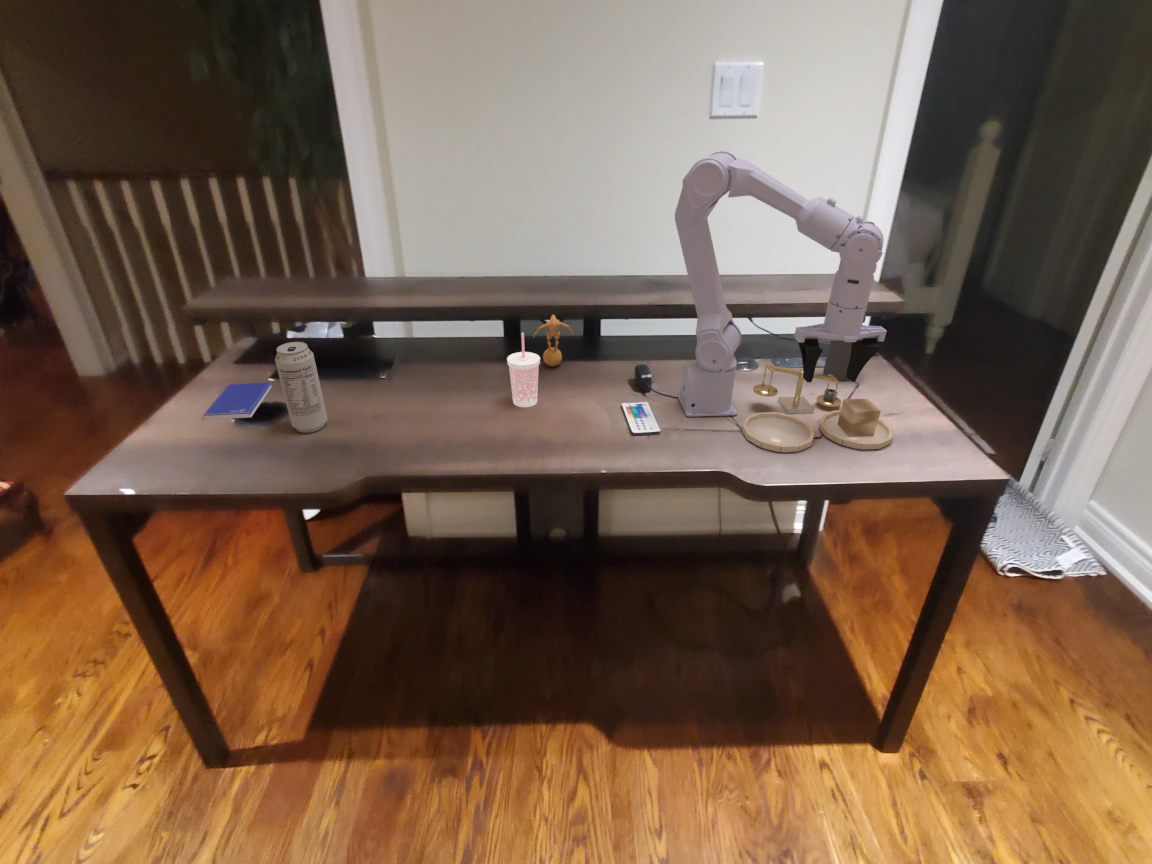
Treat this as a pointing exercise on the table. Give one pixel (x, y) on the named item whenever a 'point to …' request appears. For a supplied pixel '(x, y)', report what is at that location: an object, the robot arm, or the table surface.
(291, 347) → the energy drink can
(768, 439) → the left dish
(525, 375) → the beverage cup
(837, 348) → the bottle
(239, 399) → the hard drive
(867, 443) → the right dish
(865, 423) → the maple block
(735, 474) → the table surface
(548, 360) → the figurine
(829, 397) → the balance scale
